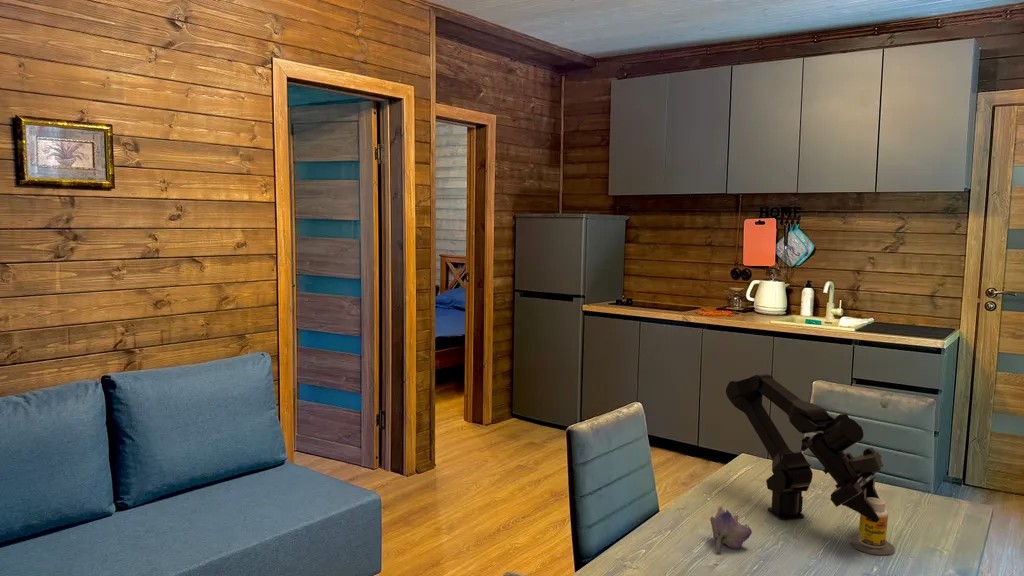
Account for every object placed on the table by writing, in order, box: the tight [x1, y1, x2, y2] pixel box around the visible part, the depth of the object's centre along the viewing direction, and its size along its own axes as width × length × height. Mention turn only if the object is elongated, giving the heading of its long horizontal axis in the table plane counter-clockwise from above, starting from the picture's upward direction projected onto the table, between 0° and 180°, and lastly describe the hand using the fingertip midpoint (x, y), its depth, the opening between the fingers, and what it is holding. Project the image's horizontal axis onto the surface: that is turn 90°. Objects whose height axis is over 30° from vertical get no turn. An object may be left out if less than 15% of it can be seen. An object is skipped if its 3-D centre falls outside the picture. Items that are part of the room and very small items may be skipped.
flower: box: [709, 506, 753, 555], centre depth 163 cm, size 9×9×10 cm
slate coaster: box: [849, 535, 896, 557], centre depth 165 cm, size 9×9×1 cm
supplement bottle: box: [857, 497, 889, 548], centre depth 165 cm, size 6×6×10 cm
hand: (880, 516), depth 164 cm, fingers closed on supplement bottle, 5 cm apart
